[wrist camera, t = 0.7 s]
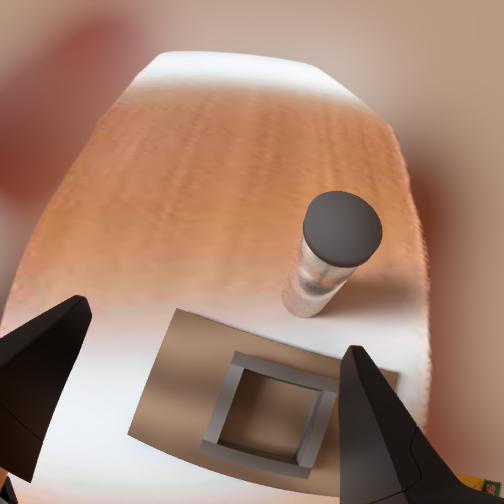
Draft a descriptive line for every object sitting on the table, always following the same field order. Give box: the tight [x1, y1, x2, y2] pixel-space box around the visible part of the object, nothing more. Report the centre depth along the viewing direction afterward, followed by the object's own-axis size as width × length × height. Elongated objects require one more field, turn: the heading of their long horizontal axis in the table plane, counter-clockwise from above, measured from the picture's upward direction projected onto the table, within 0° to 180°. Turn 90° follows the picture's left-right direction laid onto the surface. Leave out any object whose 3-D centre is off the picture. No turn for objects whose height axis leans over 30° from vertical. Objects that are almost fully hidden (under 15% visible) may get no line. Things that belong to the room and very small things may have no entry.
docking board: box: [128, 308, 398, 497], centre depth 19 cm, size 12×20×4 cm, turn 72°
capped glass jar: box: [282, 191, 382, 318], centre depth 20 cm, size 4×4×12 cm
